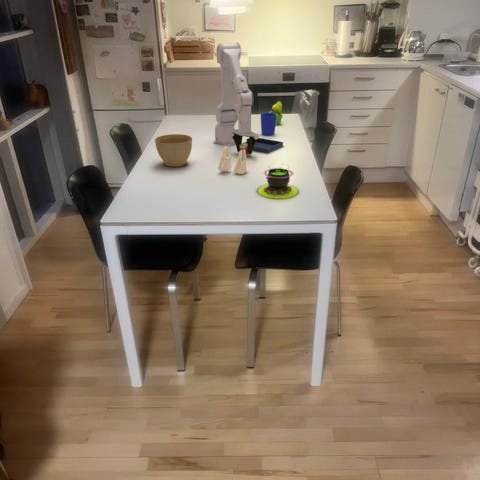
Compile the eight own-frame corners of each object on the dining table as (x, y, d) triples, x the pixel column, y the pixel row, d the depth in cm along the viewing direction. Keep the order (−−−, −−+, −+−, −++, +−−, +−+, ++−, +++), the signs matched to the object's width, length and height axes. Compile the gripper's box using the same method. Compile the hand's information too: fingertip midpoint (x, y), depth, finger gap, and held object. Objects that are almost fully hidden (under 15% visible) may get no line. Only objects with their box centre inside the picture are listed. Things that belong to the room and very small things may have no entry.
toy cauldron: (273, 181, 192) (274, 154, 185) (304, 190, 184) (307, 161, 177) (250, 192, 182) (250, 163, 176) (282, 201, 175) (283, 171, 168)
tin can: (237, 155, 220) (237, 144, 217) (243, 153, 223) (243, 142, 220) (245, 157, 218) (245, 146, 215) (251, 155, 221) (251, 144, 218)
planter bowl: (198, 159, 216) (197, 135, 209) (185, 171, 203) (184, 145, 197) (165, 157, 219) (163, 132, 213) (151, 168, 206) (148, 142, 200)
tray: (240, 148, 229) (240, 144, 228) (256, 142, 239) (256, 137, 237) (267, 154, 222) (267, 149, 221) (282, 146, 232) (283, 141, 230)
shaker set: (217, 173, 200) (216, 146, 193) (219, 170, 203) (218, 144, 197) (245, 175, 198) (245, 148, 192) (246, 171, 202) (247, 145, 195)
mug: (276, 130, 256) (277, 111, 250) (275, 136, 246) (276, 116, 241) (261, 130, 257) (261, 110, 251) (259, 136, 247) (260, 116, 241)
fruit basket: (263, 121, 273) (263, 100, 267) (277, 120, 275) (278, 99, 269) (270, 126, 264) (270, 104, 258) (284, 125, 266) (285, 103, 260)
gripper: (263, 122, 211) (262, 153, 218) (237, 117, 218) (237, 147, 226) (253, 125, 206) (253, 157, 214) (227, 120, 213) (228, 151, 221)
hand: (244, 152), depth 220 cm, fingers open, 6 cm apart
